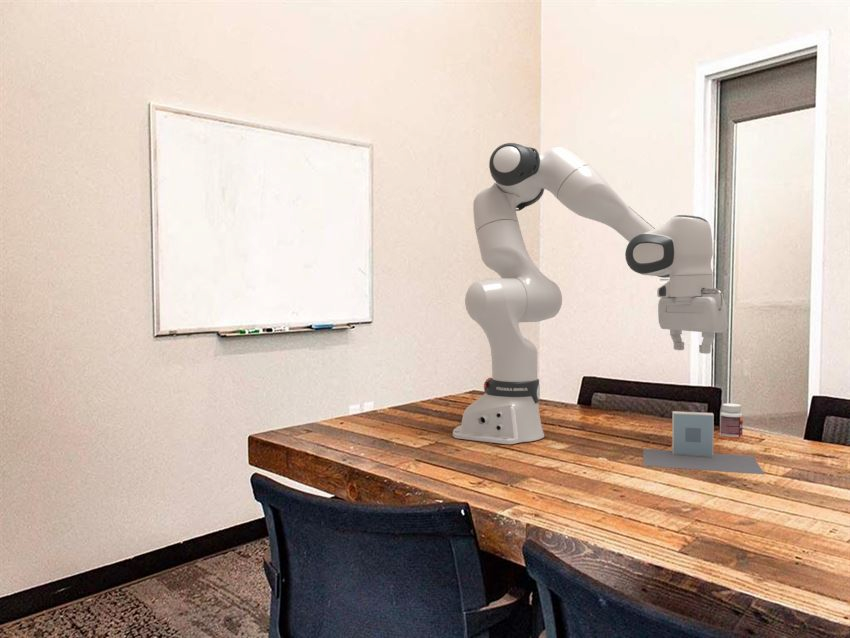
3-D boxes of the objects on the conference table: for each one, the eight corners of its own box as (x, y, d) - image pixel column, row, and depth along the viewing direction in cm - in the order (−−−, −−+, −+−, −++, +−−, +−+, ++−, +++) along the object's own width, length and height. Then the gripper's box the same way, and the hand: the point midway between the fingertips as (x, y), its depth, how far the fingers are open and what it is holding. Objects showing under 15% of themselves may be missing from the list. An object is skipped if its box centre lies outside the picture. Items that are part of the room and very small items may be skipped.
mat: (643, 468, 130) (643, 465, 130) (643, 451, 144) (643, 448, 144) (764, 477, 124) (764, 474, 124) (752, 458, 137) (752, 455, 137)
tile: (672, 454, 138) (673, 413, 138) (672, 452, 140) (672, 411, 140) (713, 457, 136) (713, 414, 135) (712, 454, 138) (712, 413, 137)
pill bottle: (744, 442, 151) (745, 406, 150) (723, 441, 152) (723, 406, 151) (739, 437, 155) (739, 403, 155) (718, 436, 156) (718, 402, 156)
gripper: (735, 287, 132) (735, 354, 133) (677, 289, 152) (677, 347, 153) (708, 288, 131) (708, 356, 132) (652, 289, 151) (653, 348, 152)
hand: (691, 351), depth 142 cm, fingers open, 8 cm apart
